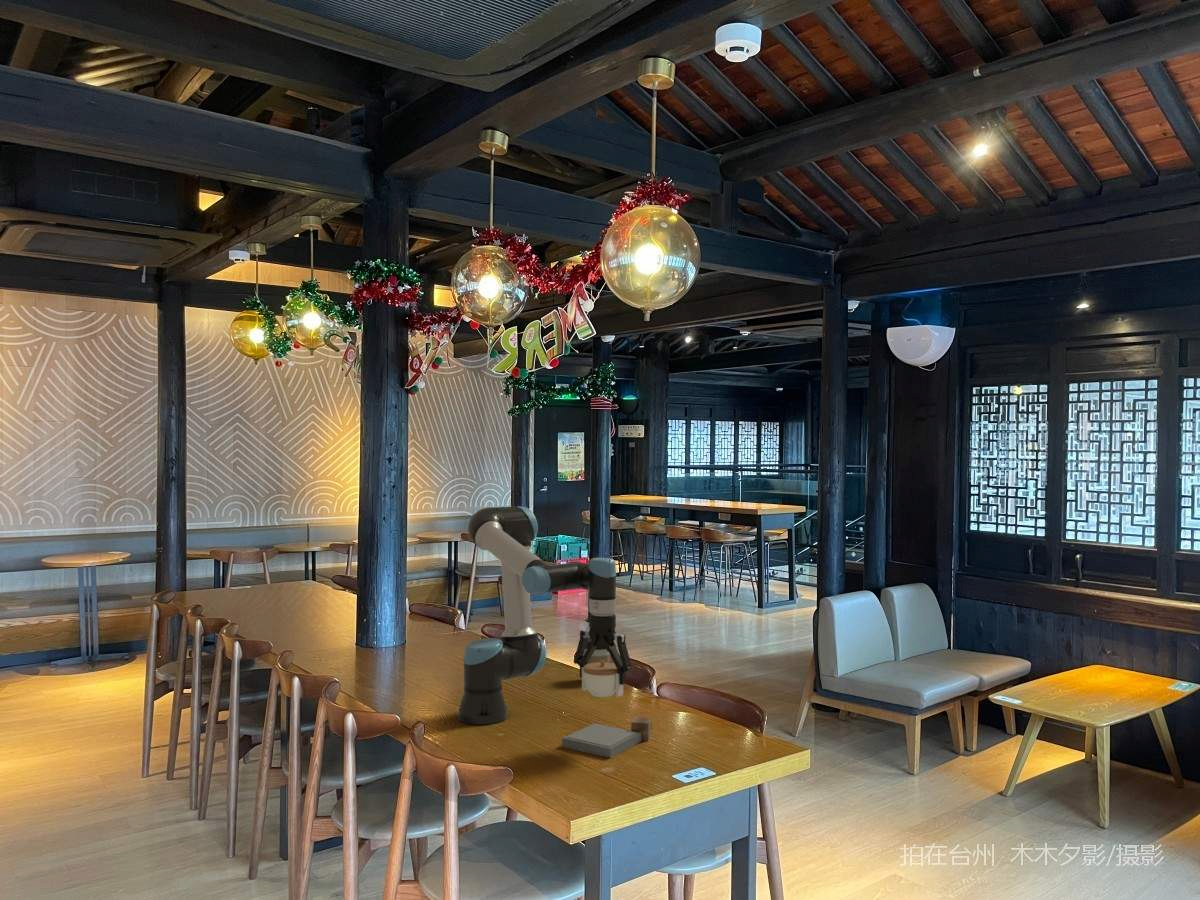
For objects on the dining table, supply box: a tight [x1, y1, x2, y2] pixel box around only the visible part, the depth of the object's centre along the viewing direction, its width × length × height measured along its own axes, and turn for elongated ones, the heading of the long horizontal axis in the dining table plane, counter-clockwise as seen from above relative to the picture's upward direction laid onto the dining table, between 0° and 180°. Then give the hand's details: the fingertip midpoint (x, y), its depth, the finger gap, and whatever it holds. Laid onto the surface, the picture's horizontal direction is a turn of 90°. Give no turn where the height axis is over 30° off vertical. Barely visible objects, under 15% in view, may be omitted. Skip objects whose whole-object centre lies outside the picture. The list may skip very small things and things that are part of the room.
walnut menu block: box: [630, 716, 653, 742], centre depth 241 cm, size 5×5×5 cm
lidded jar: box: [583, 660, 618, 698], centre depth 235 cm, size 11×11×9 cm
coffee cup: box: [584, 636, 611, 664], centre depth 303 cm, size 11×11×15 cm
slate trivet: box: [561, 722, 642, 759], centre depth 235 cm, size 16×16×3 cm
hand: (602, 692), depth 235 cm, fingers closed on lidded jar, 11 cm apart
